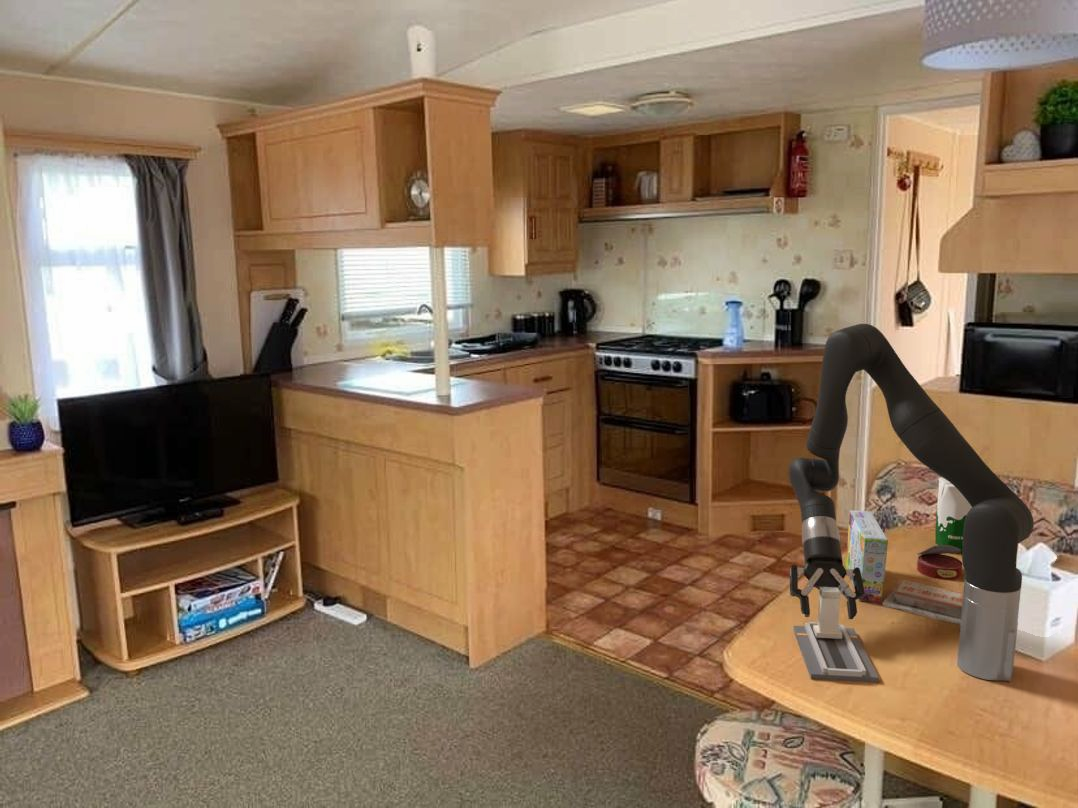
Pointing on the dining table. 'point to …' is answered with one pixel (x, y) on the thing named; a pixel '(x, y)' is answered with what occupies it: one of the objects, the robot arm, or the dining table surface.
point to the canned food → (940, 563)
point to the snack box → (867, 553)
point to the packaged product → (926, 601)
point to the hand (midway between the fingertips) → (829, 616)
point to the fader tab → (828, 614)
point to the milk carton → (950, 515)
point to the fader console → (835, 655)
